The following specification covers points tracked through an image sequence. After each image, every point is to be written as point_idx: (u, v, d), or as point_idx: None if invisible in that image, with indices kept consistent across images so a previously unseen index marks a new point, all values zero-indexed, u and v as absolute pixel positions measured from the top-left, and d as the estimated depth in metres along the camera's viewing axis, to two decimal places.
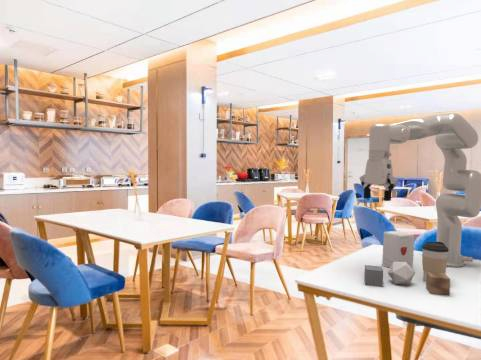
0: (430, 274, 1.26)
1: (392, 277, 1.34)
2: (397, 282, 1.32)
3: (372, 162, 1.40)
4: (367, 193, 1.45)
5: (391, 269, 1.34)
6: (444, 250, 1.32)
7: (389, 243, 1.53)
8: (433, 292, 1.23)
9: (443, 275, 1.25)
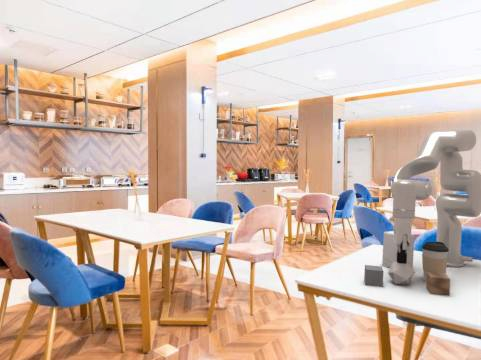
0: (430, 274, 1.26)
1: (392, 277, 1.34)
2: (397, 282, 1.32)
3: None
4: None
5: (391, 269, 1.34)
6: (444, 250, 1.32)
7: (389, 243, 1.53)
8: (433, 292, 1.23)
9: (443, 275, 1.25)
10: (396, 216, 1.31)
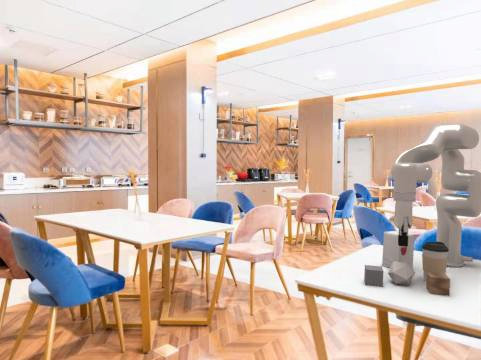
0: (430, 274, 1.26)
1: (392, 277, 1.34)
2: (397, 282, 1.32)
3: None
4: None
5: (391, 269, 1.34)
6: (444, 250, 1.32)
7: (389, 243, 1.53)
8: (433, 292, 1.23)
9: (443, 275, 1.25)
10: (397, 199, 1.31)
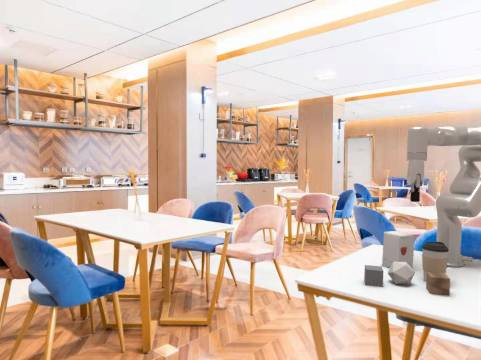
0: (430, 274, 1.26)
1: (392, 277, 1.34)
2: (397, 282, 1.32)
3: None
4: None
5: (391, 269, 1.34)
6: (444, 250, 1.32)
7: (389, 243, 1.53)
8: (433, 292, 1.23)
9: (443, 275, 1.25)
10: (410, 158, 1.46)
